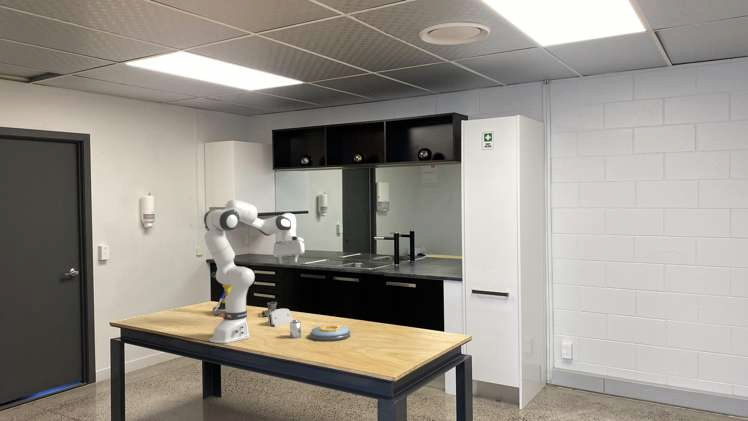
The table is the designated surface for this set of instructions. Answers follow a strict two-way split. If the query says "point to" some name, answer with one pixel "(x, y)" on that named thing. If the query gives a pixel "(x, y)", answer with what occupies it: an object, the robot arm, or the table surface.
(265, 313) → the pipe
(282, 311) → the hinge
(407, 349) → the table surface
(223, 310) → the cordless drill
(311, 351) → the table surface
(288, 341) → the table surface
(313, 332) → the turntable platter
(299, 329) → the silver can
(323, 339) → the turntable base
